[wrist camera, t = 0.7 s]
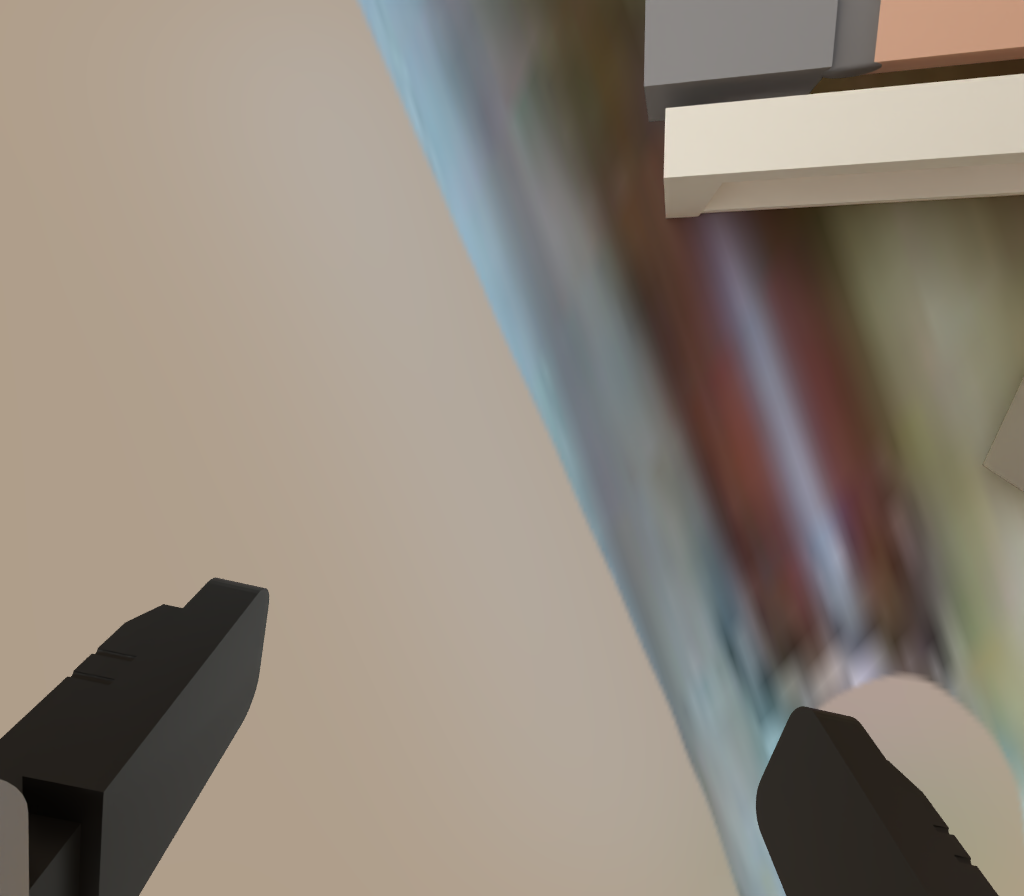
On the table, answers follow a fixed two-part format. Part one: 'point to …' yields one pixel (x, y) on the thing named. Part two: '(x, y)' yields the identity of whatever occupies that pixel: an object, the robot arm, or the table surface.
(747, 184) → the trapdoor stand
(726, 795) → the table surface
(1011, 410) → the plain beige rectangular block
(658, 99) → the trapdoor
